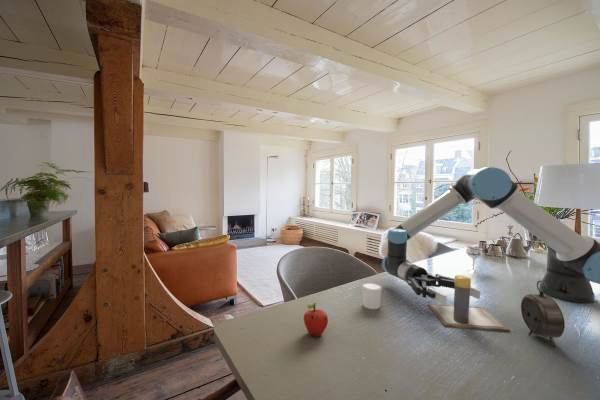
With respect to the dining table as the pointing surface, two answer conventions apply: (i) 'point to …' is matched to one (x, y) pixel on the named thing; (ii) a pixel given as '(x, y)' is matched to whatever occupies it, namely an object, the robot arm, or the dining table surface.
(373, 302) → the white cylinder
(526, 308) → the alarm clock
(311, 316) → the apple
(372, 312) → the dining table surface
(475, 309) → the wooden picture frame
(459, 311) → the marker
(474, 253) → the wineglass
